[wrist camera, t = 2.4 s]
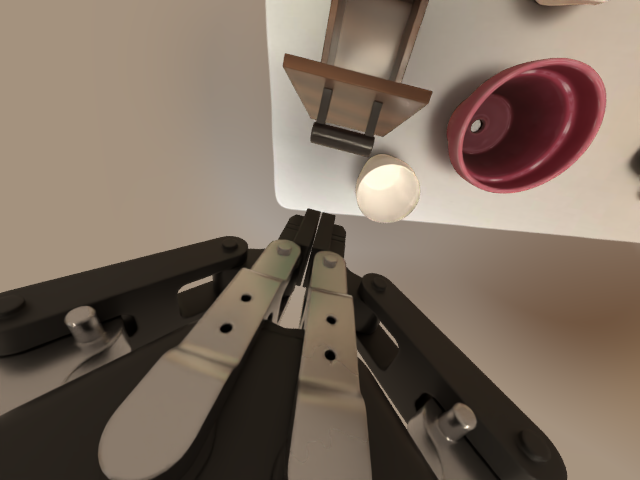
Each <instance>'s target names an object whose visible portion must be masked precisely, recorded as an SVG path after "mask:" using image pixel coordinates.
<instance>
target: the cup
mask: <svg viewBox="0 0 640 480" xmlns="http://www.w3.org/2000/svg"><path fill="white" fill-rule="evenodd" d="M356 197H357V203H358V206H359V208H360V210H361V211H362V213H363V214H364V215H365V216H366V217H368V218H369V219H371V220H373V221H376V222H380V223H391V222H395V221H398V220H401V219H403V218H404V217H406V216H407V215H408V214H410V213H411V212H412V211H413V209H414V208H415V206H416V205H417V203H418V200H419V197H420V185H419V182H418V179H417V177H416V175H415V173H414V171H413V170H412V168H411V167H410V166H409V165H408V164H407V163H405V162H404V161H402V160H399V159H397V158H394V157H392V156H390V155H386V154H379V155H375V156H373V157H372V158H370V159H369V160H368V161H367V162H366V164H365V165H364V167H363V169H362V171H361V173H360V175H359V177H358V179H357V183H356Z"/></svg>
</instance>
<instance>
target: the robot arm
mask: <svg viewBox="0 0 640 480" xmlns="http://www.w3.org/2000/svg"><path fill="white" fill-rule="evenodd" d="M320 213H321V212H320V211H316V210H312V209H307V211H306V214H305V216H300V215H295V216H292V217H291V218H290V219H289V221H288V223H287V224H286V226H285V228H284V230H283V232H282V233H281V235H280V237H279V239H278V240H275V241H272V242H271V243H270V244H269V245H268V246H267V248H266V249H248V244H247V242H246V241H245V240H243V239H241V238H239V237H234V236H226V237H220V238H216V239H212V240H208V241H205V242H200V243H196V244H192V245H188V246H184V247H180V248H177V249H173V250H169V251H165V252H160V253H157V254H153V255H149V256H145V257H141V258H137V259H133V260H129V261H125V262H121V263H117V264H113V265H109V266H105V267H101V268H97V269H93V270H89V271H85V272H81V273H77V274H73V275H69V276H65V277H61V278H57V279H54V280H49V281H45V282H42V283H38V284H34V285H29V286H26V287H21V288H18V289H14V290H10V291H6V292H2V293H0V480H567V471H566V467H565V465H564V462H563V460H562V458H561V456H560V454H559V452H558V451H557V449H556V447H555V446H554V445H553V443H552V442H551V441H550V440H549V438H548V437H547V436H546V435H545V434H544V433H543V432H542V431H541V430H540V429H539V428H538V427H537V426H536V425H535V424H534V423H533V422H532V421H531V420H530V419H529V418H528V417H527V416H526V415H525V414H524V413H523V412H522V411H521V410H520V409H519V408H518V407H517V406H516V405H515V404H514V403H513V402H512V401H511V400H510V399H509V398H508V397H507V396H506V395H505V394H504V393H503V392H502V391H501V390H500V389H499V388H498V387H497V386H496V385H495V384H494V383H493V382H492V381H491V380H490V379H489V378H488V377H487V376H486V375H485V374H484V373H483V372H482V371H481V370H480V369H479V368H478V367H477V366H476V365H475V364H474V363H473V362H472V361H471V360H470V359H469V358H468V357H467V356H466V355H465V354H464V353H463V352H462V351H461V350H460V349H459V348H458V347H457V346H456V345H454V343H452V341H450V339H448V338H447V336H446V335H444V334H443V333H442V332H441V331H440V330H439V329H438V328H437V327H436V326H435V325H434V324H433V323H432V322H431V321H430V320H429V319H428V318H427V317H426V316H425V315H424V314H423V313H422V312H421V311H420V310H419V309H418V308H417V307H416V306H415V305H414V304H413V303H412V302H411V301H410V300H409V299H408V298H407V297H406V296H405V295H404V294H403V293H402V292H401V291H400V290H399V289H398V288H397V287H396V286H395V285H394V284H393V283H392V282H391V281H390V280H389V279H387V278H386V277H384V276H382V275H379V274H375V273H369V274H366V275H364V276H363V278H361V277H360V276H358V275H356V274H354V273H352V272H351V271H350V270H349V269H348V268H347V267H346V262H345V260H344V250H345V238H346V231H345V230H344V228H343V227H342V226H339V225H335V224H334V221H335V215H332V214H328V213H324V212H323V213H322V216H321V220H320V223H319V226H318V230H317V225H318V221H319V217H320ZM316 230H317V233H316ZM315 234H316V236H315ZM314 238H315V240H314ZM313 242H314V243H313ZM312 245H313V246H312ZM311 249H312V250H311ZM310 252H311V254H310ZM309 255H310V258H309ZM308 258H309V263H308V267H307V271H306V275H305V279H304V283H303V287H306V292H305V296H304V299H303V304H302V311H301V316H300V323H299V328H298V329H288V328H283V327H281V326H279V324H280V321H281V319H282V317H283V315H284V312H285V310H286V308H287V305H288V303H289V301H290V298H291V295H292V292H293V291H294V288H295V285H298V286H300V285H301V282H302V278H303V275H304V272H305V268H306V265H307V262H308ZM211 275H212V276H213V281H210V282H208V283H205V284H202V285H200V286H197V287H194V288H191V289H189V290H186V291H183V292H181V293H178V290H179V289H180V288H181V287H182V286H184V285H186V284H189V283H191V282H194V281H197V280H200V279H203V278H205V277H208V276H211ZM177 293H178V294H177ZM380 321H381V323H382V324H383V325H384V326H385V327H386V329H387V330H388V331H389V332H390V333H391V335H392V336H393V337H394V338H395V340H396V341H397V343H398V346H399V348H398V347H397V346H396V345H395V343H394V342H393V341H392V340H391V339H390V337H389V336H388V335H387V334H386V332H385V331H384V330H383V329H382V327H381V326H380V325H379V323H380ZM357 350H358V352H359V353H360V354H361V356H362V358H363V359H364V360H365V362H366V364H367V365H368V366H369V368H370V369H371V371H372V372H373V374H374V375H375V377H376V378H377V380H378V381H379V383H380V384H381V386H382V387H383V389H384V390H385V392H386V393H387V395H388V396H389V398H390V399H391V401H392V402H393V404H394V405H395V407H396V408H397V410H398V411H399V413H400V414H401V415H402V417H403V418H404V420H405V421H406V423H407V424H408V429H406V427H405V426H404V425H403V423H402V421H401V419H400V418H399V416H398V415H397V413H396V412H395V410H394V408H393V407H392V405H391V404H390V402H389V401H388V399H387V397H386V396H385V394H384V393H383V391H382V389H381V388H380V386H379V385H378V383H377V382H376V380H375V378H374V377H373V375H372V374H371V372H370V371H369V369H368V368H367V367H366V365H365V364H364V363H363V362H362V361H361V360H360V359H359V358H358V357H357Z"/></svg>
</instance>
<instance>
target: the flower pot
mask: <svg viewBox="0 0 640 480" xmlns="http://www.w3.org/2000/svg"><path fill="white" fill-rule="evenodd" d="M605 108H606V91H605V87H604V84H603V81H602V79H601V78H600V76H599V75H598V73H597V72H596V71H595V70H594V69H593V68H591V67H590V66H589V65H587V64H585V63H583V62H580V61H577V60H573V59H568V58H550V59H542V60H536V61H531V62H526V63H523V64H519V65H516V66H513V67H510V68H508V69H506V70H503V71H501V72H499V73H498V74H496V75H494V76H493V77H491V78H490V79H488V80H487V81H485V82H484V83H483V84H482V85H481V86H479V87H478V88H477V89H476V90H475V91H474V92H473V93H472V94H471V95H470V96H469V97H468V98H467V99H466V100H464V101H463V102H462V103H461V104H460V105H459V106H458V107H457V108H456V109H455V111H454V112H453V114H452V115H451V117H450V120H449V122H448V126H447V140H448V152H449V157H450V161H451V164H452V165H453V167H454V169H455V170H456V172H457V173H458V174H459V175H460V176H461V177H462V178H463V179H465V180H466V181H468V182H469V183H471V184H472V185H474V186H476V187H478V188H480V189H482V190H485V191H488V192H493V193H515V192H520V191H525V190H528V189H531V188H534V187H537V186H539V185H542V184H544V183H546V182H548V181H550V180H551V179H553V178H555V177H556V176H558V175H560V174H561V173H562V172H564V171H565V170H566V169H568V168H569V167H570V166H571V165H572V164H573V163H575V162H576V161H577V160H578V159H579V157H580V156H581V155H582V154H583V153H584V152H585V151H586V150H587V148H588V147H589V146H590V144H591V142H592V141H593V139H594V138H595V136H596V134H597V132H598V130H599V128H600V126H601V123H602V120H603V117H604V113H605ZM476 120H481V121H482V122H483V125H482V127H481V129H480V130H479V131H477V132H472V131H471V126H472V124H473V123H474V122H475V121H476Z"/></svg>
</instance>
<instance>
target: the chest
mask: <svg viewBox="0 0 640 480" xmlns="http://www.w3.org/2000/svg"><path fill="white" fill-rule="evenodd" d="M428 2H429V0H332V1H331V7H330V13H329V19H328V24H327V30H326V36H325V42H324V47H323V53H322V59H321V63H325V64H329V65H333V66H336V67H340V68H344V69H348V70H352V71H356V72H360V73H363V74H367V75H371V76H375V77H379V78H383V79H387V80H391V81H394V82H398V83H401V82H402V79H403V76H404V73H405V70H406V67H407V64H408V61H409V58H410V55H411V52H412V49H413V46H414V43H415V40H416V37H417V34H418V31H419V28H420V25H421V22H422V20H423V17H424V14H425V11H426V8H427V5H428Z"/></svg>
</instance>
